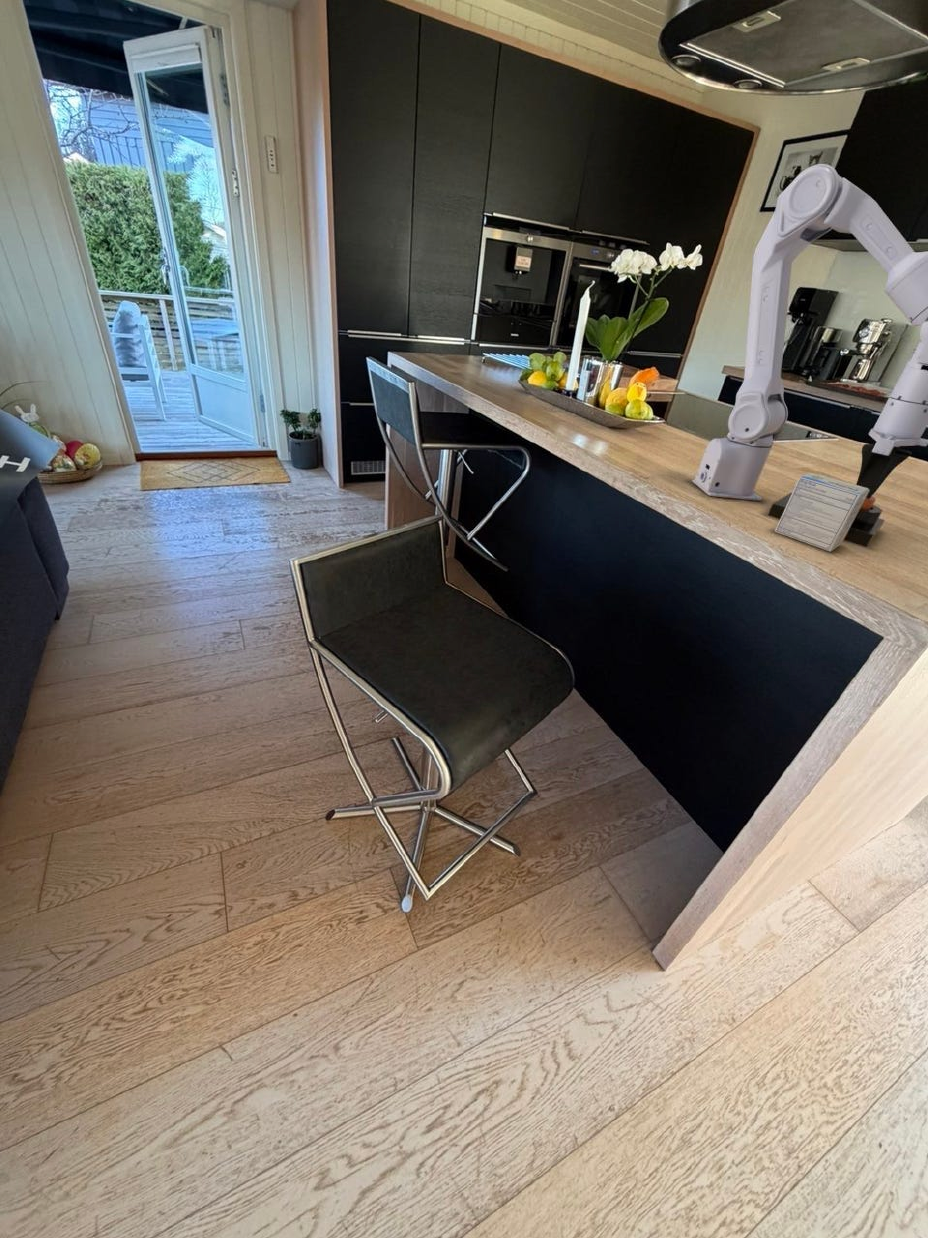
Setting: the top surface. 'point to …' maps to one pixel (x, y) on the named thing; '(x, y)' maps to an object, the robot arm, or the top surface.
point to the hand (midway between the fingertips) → (862, 495)
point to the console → (858, 532)
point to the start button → (868, 503)
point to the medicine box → (821, 510)
